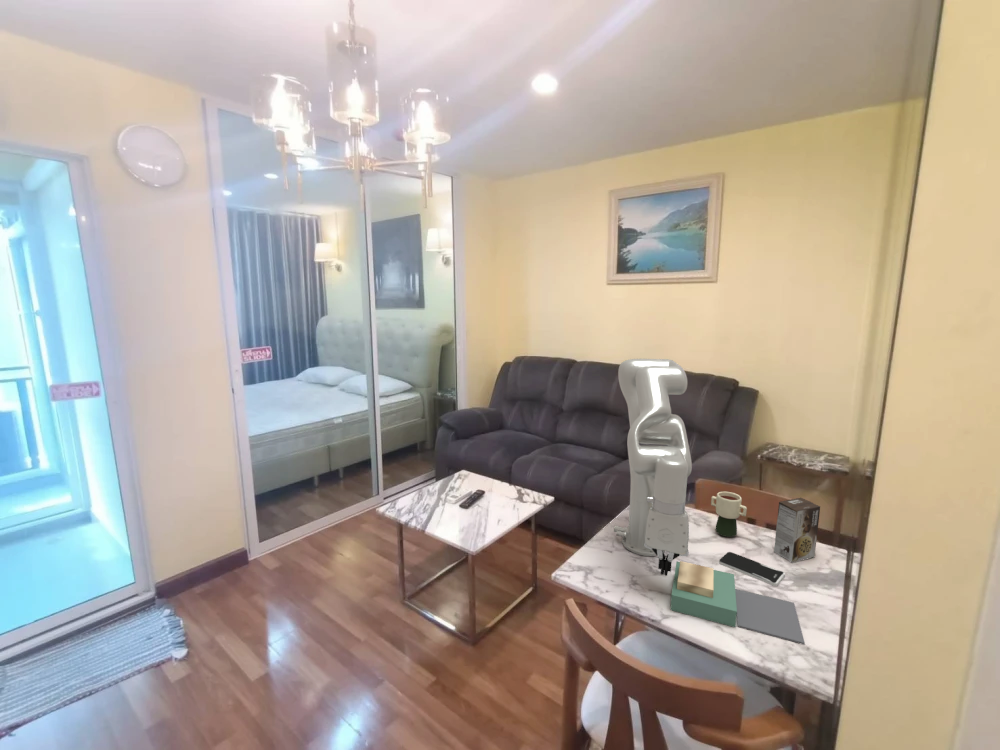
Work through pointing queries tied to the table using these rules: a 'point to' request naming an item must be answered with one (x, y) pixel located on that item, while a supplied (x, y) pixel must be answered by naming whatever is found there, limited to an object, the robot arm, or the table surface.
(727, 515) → the character mug
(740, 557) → the smartphone
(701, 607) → the green flat block
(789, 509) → the coffee box
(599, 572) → the table surface
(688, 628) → the table surface
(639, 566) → the table surface
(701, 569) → the oak tile
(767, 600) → the rubber mat
